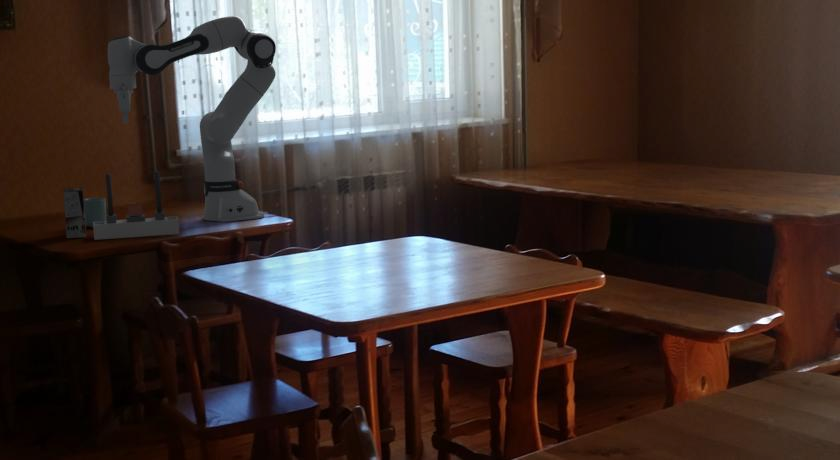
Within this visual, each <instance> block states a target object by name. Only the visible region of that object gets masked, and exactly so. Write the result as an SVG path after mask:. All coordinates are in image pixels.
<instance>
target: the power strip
mask: <svg viewBox="0 0 840 460" xmlns="http://www.w3.org/2000/svg"><path fill="white" fill-rule="evenodd" d="M92 228H93V230H92V231H93V238H94V239H93V240H95V241H96V240H108V239H109V240H111V239H113V240H114V239H123V238H125V239H126V238H140V237H153V236H167V235H180V224H179V217H178V215H177V216H165V220H156V219H155V217H147V218H146V215H145V213H144V214H143V213H142V215H137V216H129V214H128V215H126V219H119V220H118V219H116V223H108V224H107V220H106V221H98V222H94V223H93V227H92Z"/></svg>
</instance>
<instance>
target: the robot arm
mask: <svg viewBox="0 0 840 460" xmlns="http://www.w3.org/2000/svg"><path fill="white" fill-rule="evenodd" d="M276 45H277V44H276V43H275V41H274V39H273V38H272V37H271V36H270V35H269V34H267V33H264V32H262V31H259V30H252V29H248V28H247V26H246V24H245V22H244V20H243V19H242V18H241V17H239V16H236V15H231V16H224V17H223V16H222V17H219V18H216V19H212V20H209V21H207V22H204V23H201V24H200V25H198V26H197V27H195V28H193V29H192V30H191V33H190V34H189V35H187V36H186V37H184V38H181V39H179V40H176V41H173V42H170V43H168V44H163V45H156V44H145V43H143V42H140V41H138V40H136V39H135V38H133V37H131V36H130V35H123V36H121V35H120V36H117V37H114V38H112V39H110V40H109V41H108V44H107V63H108V66H109V73H108V76H109V77H108V78H109V79H108V80H109V89H110V90H113V91H114V93H113V94H114V95H115V94H116V97H117V98H116V99H117V101H118V110H119V112H120V113H121V117H122V123H123V124H124V125H125V124H129V113H130V111H131V97H132V95H131V94H133V93H134V89H137V75H136V73H137V72H141V73H144V74H146V75H150V76H156V75H158V74H160V73H162V72H163V71H164V70H165V69H166V68H167V67H168V66H169V65H171V64H172V63H175V62H177V61H180V60H183V59H185V58H189V57H192V56H196V55H202V56H203V55H209V54H214V53H217V52H221V51H224V50H227V49H229V48H234V49H235V51H236V52H237V54H238V55H239V56H240V57H242V58H243V59H246V60H247V64H246V67H245V69H244V71H243V72H242V73H241V74H240V75H239V76H238V77H237V79H236V80H235V81H234V82H233V84H232V85H231V86H230V88H229V89H227V91H226V92H225V94H224V96H223V97H222V99H221V101H220V102H219V104H218V105H217V106H216V108H215V109H214V111H210V112H208V113H206V114H204V115H203V116H202V117H201V119H200V122H199V134H200V142H201V149H202V150H201V151H202V156H203V169H204V170H203V171H204V180H203V193H204V197H205V200H204V211H203V216H202V219H203V220H204V221H205V220H206V221H211V222H212V221H213V222H221V223H222V222H223V223H225V222H226V223H228V222H234V221H235V222H237V221H245V220H256V219H263V218H264V217H265V213H264V211H262V210H259V207H258V203H257V201H256V199H255V198H254V196H252V195H250V194H249V193H247V192H246V191H245V190H243V189H242V188H243V187H244V183H243V181H240V180H238V179H236V167H235V155H234V152H233V151H234V150H233V146H232V145H233V144H232V139H233V138H235V137H234V136H235V135H236V133H238V131H239V130H240V128H241V126H242V125H243V124H244V123H245V120H246V119H247V118H248V115H249V114H250V113H251V112H252V110H253V109H254V107H256V105H257V104H258V103H259V102H260V101H261V99H262V98H263V97H264V95H265V94H266V92H268V90H269V89H270V88H271V85H272V84H273V82H274V80H275V77H276V74H277V73H276V70H275V68H274V66H273V63H274V59H275V55H276V53H277V46H276Z"/></svg>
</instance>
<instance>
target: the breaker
mask: <svg viewBox="0 0 840 460" xmlns="http://www.w3.org/2000/svg"><path fill="white" fill-rule="evenodd" d="M142 206H143V204H139V205H128V215H129V216H137V215H142V214H143V207H142Z"/></svg>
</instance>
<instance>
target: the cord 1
mask: <svg viewBox="0 0 840 460" xmlns="http://www.w3.org/2000/svg"><path fill="white" fill-rule="evenodd" d="M105 185H106V197H107V210H108V214H106V221H107V224H108V223H116V220H117V214H116V213H114V203H113V200H114V199H113V190H112V189H113V188H112V175H111V174H110V173H107V174H105Z"/></svg>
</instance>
